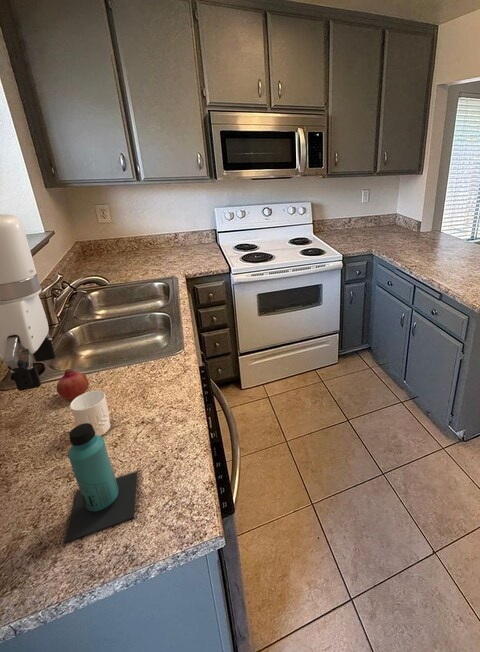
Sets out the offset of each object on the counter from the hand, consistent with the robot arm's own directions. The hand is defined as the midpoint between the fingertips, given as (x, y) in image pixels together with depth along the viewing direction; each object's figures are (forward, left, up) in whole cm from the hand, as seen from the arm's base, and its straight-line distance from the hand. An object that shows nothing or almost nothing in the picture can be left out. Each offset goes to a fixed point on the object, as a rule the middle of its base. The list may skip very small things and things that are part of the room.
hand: (38, 373), depth 67 cm
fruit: (-8, +42, -33) cm, 54 cm away
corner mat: (+5, -3, -33) cm, 33 cm away
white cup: (0, +23, -33) cm, 40 cm away
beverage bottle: (+5, -3, -32) cm, 33 cm away
